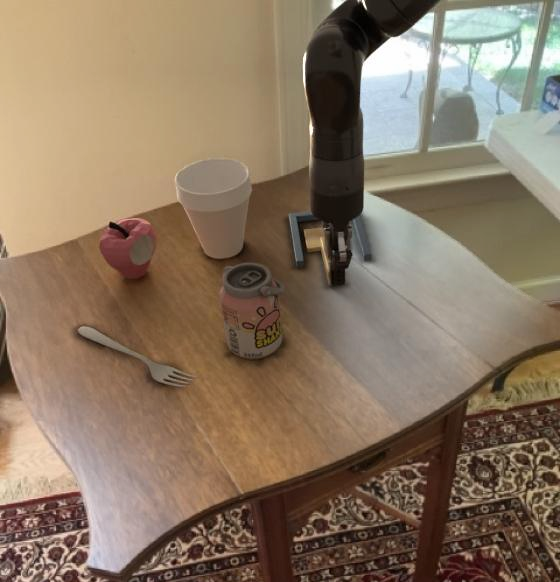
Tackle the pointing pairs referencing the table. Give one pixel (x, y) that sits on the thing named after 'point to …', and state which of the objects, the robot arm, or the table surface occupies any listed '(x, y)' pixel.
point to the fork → (156, 369)
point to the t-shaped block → (318, 246)
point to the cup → (216, 203)
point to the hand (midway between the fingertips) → (337, 282)
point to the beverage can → (251, 310)
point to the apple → (129, 246)
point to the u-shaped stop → (309, 217)
